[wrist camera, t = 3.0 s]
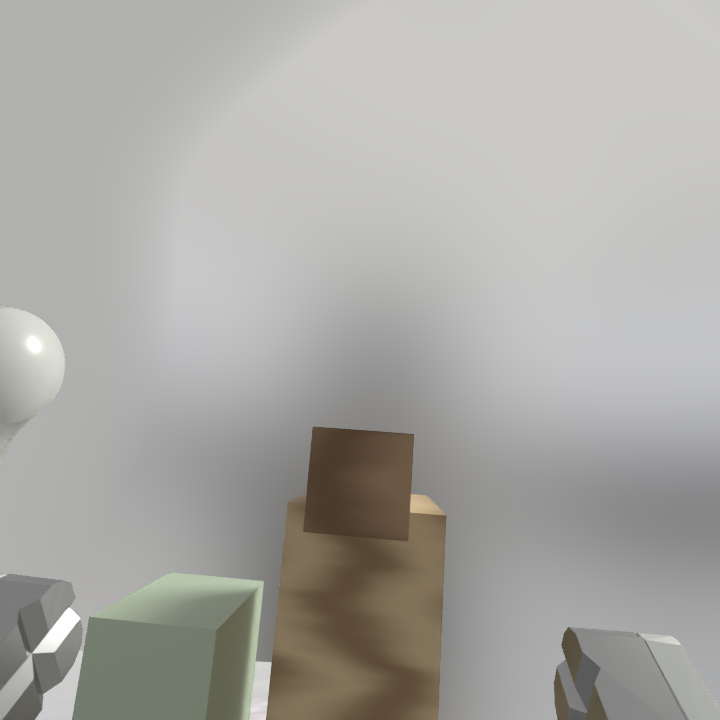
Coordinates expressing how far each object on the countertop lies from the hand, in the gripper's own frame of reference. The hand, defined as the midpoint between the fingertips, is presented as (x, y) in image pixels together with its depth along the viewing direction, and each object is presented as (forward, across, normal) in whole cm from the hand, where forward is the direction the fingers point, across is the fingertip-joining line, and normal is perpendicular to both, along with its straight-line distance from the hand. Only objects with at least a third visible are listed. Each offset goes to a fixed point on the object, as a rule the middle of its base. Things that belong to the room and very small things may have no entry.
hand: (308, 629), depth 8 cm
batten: (+17, 0, -10) cm, 19 cm away
